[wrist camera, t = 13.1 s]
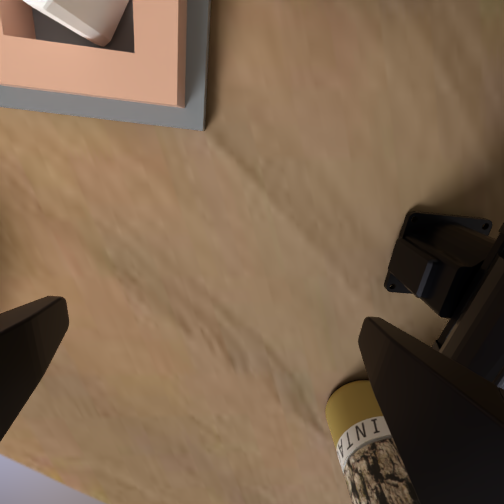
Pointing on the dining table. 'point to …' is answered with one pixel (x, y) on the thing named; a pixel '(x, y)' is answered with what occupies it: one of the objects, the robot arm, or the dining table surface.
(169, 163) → the dining table surface
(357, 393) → the bark log cylinder
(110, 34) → the pepper shaker
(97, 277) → the dining table surface
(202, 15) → the dock
